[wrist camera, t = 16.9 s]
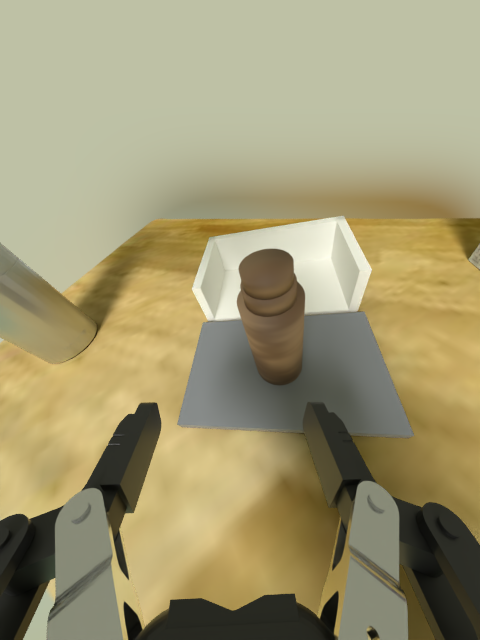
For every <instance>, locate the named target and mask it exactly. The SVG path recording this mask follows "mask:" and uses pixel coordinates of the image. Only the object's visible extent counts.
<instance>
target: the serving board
mask: <svg viewBox="0 0 480 640" xmlns="http://www.w3.org/2000/svg"><path fill="white" fill-rule="evenodd" d="M308 402H323V403H324V404H325V406H326V408H327V410H328V412H334V413H335V414H336V415H337V416H338V417H339V418H340V419H341V420H342V421H343V423H344V425H345V427H346V429H347V430H348V434H350V435H351V436H371V437H391V438H410V437H412V436H414V434H413V431H412V429H411V426H410V424H409V421H408V419H407V416H406V414H405V412H404V409H403V407H402V404H401V402H400V399H399V397H398V394H397V392H396V389H395V387H394V384H393V382H392V379H391V377H390V374H389V372H388V369H387V367H386V364H385V362H384V359H383V357H382V354H381V352H380V349H379V347H378V344H377V342H376V339H375V337H374V334H373V332H372V330H371V327H370V325H369V322H368V320H367V317H366V315H365V312H352V313H337V314H322V315H308V316H304V334H303V355H302V369H301V373H300V375H299V376H298V377H297V379H296V380H294V381H293V382H291V383H289V384H286V385H273V384H270V383H268V382H266V381H265V380H264V379H263V378H262V377H261V376H260V374H259V372H258V370H257V367H256V363H255V360H254V357H253V354H252V351H251V348H250V345H249V342H248V339H247V335H246V332H245V329H244V326H243V323H242V320H234V321H219V322H204V323H203V325H202V329H201V333H200V337H199V341H198V345H197V349H196V352H195V356H194V360H193V364H192V368H191V372H190V376H189V380H188V384H187V388H186V392H185V396H184V400H183V404H182V408H181V412H180V416H179V420H178V424H177V425H179V426H181V427H190V428H210V429H230V430H250V431H270V432H291V433H304V430H303V417H304V413H305V409H306V405H307V403H308Z"/></svg>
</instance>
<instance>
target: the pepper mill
mask: <svg viewBox="0 0 480 640" xmlns="http://www.w3.org/2000/svg"><path fill="white" fill-rule="evenodd" d="M239 274H240V278H241V284H240V289H241V291H240V292H239V294H238V297H237V307H238V310H239V314H240V317H241V320H242V323H243V326H244V329H245V332H246V335H247V339H248V342H249V345H250V348H251V351H252V354H253V357H254V360H255V363H256V367H257V370H258V372H259V374H260V376H261V377H262V378H263V379H264V380H265V381H266V382H268V383H270V384H273V385H286V384H289V383H291V382H293V381H294V380H296V379H297V377H298V376H299V375H300V373H301V369H302V355H303V334H304V314H305V291H304V289H303V287H302V286H301V285H300V284H299V283H298V282H297V277H296V275H295V273H294V260H293V257H292V256H291V255H290V254H289V253H288V252H286V251H284V250H280V249H263V250H259V251H256V252H253V253H251V254H249V255H248V256H246V257H245V258H244V259H243V260H242V261H241V263H240V265H239Z"/></svg>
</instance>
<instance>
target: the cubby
mask: <svg viewBox="0 0 480 640" xmlns="http://www.w3.org/2000/svg"><path fill="white" fill-rule="evenodd" d="M263 249H280V250H284V251H286V252H288V253H289V254H290V255H291V256H292V257H293V260H294V273H295V275H296V277H297V282H298V283H299V284H300V285H301V286H302V287H303V289H304V291H305V314H304V315H319V314H334V313H348V312H357V311H358V309H359V306H360V303H361V300H362V297H363V294H364V291H365V288H366V285H367V282H368V280H369V277H370V274H371V271H372V269H371V267H370V265H369V263H368V262H367V260H366V258H365V256H364V254H363V252H362V250H361V248H360V246H359V244H358V243H357V241H356V239H355V237H354V235H353V233H352V231H351V229H350V227H349V225H348V223H347V222H346V220H345V218H344V216H339V217H333V218H326V219H320V220H314V221H308V222H301V223H295V224H289V225H283V226H277V227H271V228H264V229H258V230H252V231H246V232H240V233H233V234H227V235H221V236H215V237H210V238H209V240H208V243H207V246H206V249H205V252H204V255H203V258H202V261H201V264H200V267H199V270H198V272H197V275H196V278H195V281H194V284H193V287H192V290H193V292H194V294H195V296H196V298H197V300H198V302H199V304H200V306H201V308H202V310H203V312H204V314H205V316H206V318H207V320H208V321H209V322H216V321H231V320H241V317H240V314H239V310H238V307H237V297H238V294H239V292H240V291H241V289H240V284H241V278H240V274H239V265H240V263H241V261H242V260H243V259H244V258H245V257H246V256H248V255H249V254H251V253H253V252H256V251H259V250H263Z"/></svg>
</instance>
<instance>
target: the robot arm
mask: <svg viewBox="0 0 480 640" xmlns="http://www.w3.org/2000/svg"><path fill="white" fill-rule="evenodd" d="M96 331H97V325H96V323H95V322H94V321H93V320H91V319H90V318H89V317H88V316H87V315H86V314H84V313H83V312H82V311H81V310H80V309H79V308H77V307H76V306H75V305H74V304H73V303H72V302H70V301H69V300H68V299H67V298H66V297H64V296H63V295H62V294H61V293H60V292H58V291H57V290H56V289H55V288H54V287H52V286H51V285H50V284H49V283H48V282H47V281H45V280H44V279H43V278H42V277H41V276H39V275H38V274H37V273H36V272H35V271H33V270H32V269H31V268H30V267H29V266H27V265H26V264H25V263H24V262H23V261H21V260H20V259H19V258H18V257H16V256H15V255H14V254H13V253H12V252H11V251H9V250H8V249H7V248H6V247H5V246H3V245H2V244H1V243H0V338H2V339H4V340H6V341H8V342H10V343H12V344H14V345H16V346H18V347H20V348H21V349H23V350H25V351H27V352H29V353H31V354H33V355H35V356H37V357H39V358H41V359H43V360H44V361H46V362H48V363H52V364H56V363H61V362H64V361H67V360H69V359H71V358H73V357H74V356H76V355H77V354H79V353H80V352H81V351H82V350H84V349H85V348H86V347H87V346H88V345H89V343H90V342H91V341H92V339H93V338H94V336H95V334H96ZM303 430H304V434H305V437H306V440H307V443H308V446H309V449H310V452H311V455H312V458H313V461H314V464H315V467H316V470H317V473H318V476H319V479H320V482H321V485H322V488H323V491H324V494H325V498H326V501H327V504H328V507H329V508H338V511H339V514H340V519H339V524H338V529H337V534H336V539H335V544H334V549H333V553H332V558H331V563H330V568H329V572H328V576H327V579H326V581H325V584H324V588H323V592H322V596H321V600H320V605H319V610H318V615H315V614H314V613H313V612H312V611H311V610H309V609H308V608H306V607H305V606H303V605H301V604H299V603H297V602H296V598H295V594H278V595H264V596H262V597H260V598H258V599H257V600H255V601H253V602H251V603H249V604H247V605H245V606H243V607H241V608H239V609H237V610H234V611H232V610H229V609H226V608H224V607H222V606H219V605H217V604H214V603H212V602H209V601H207V600H205V599H202V598H198V599H178V600H170V606H169V609H167V610H166V611H164V612H162V613H161V614H159V615H158V616H157V617H155V618H154V619H153V620H152V621H151V622H150V623H149V624H148V625H147V626H146V627H145V625H144V621H143V617H142V612H141V608H140V603H139V600H138V596H137V593H136V590H135V587H134V584H133V581H132V577H131V573H130V568H129V563H128V559H127V554H126V550H125V545H124V540H123V536H122V531H121V527H120V526H121V523H122V520H123V517H124V515H125V513H134V510H135V507H136V504H137V501H138V498H139V495H140V492H141V489H142V486H143V483H144V480H145V477H146V474H147V471H148V468H149V465H150V462H151V459H152V456H153V453H154V450H155V447H156V444H157V441H158V438H159V435H160V431H161V418H160V414H159V410H158V405H157V403H140V404H139V406H138V408H137V410H136V412H135V414H128V415H127V416H126V417H125V418H124V419H123V420H122V421H121V422H120V423H119V425H118V427H117V428H116V430H115V432H114V434H113V437H112V438H111V440H110V441H109V443H108V446H107V447H106V449H105V451H104V452H103V454H102V456H101V458H100V460H99V462H98V464H97V465H96V467H95V469H94V471H93V473H92V475H91V477H90V478H89V480H88V482H87V484H86V485H85V487H84V488H83V489H82V491H81V492H79V493H77V494H76V495H75V496H73V497H72V498H71V499H70V500H69V501H68V502H67V503H66V504H65V505H64V506H62V507H60V508H58V509H55V510H52V511H50V512H47V513H44V514H42V515H39V516H37V517H34V518H31V519H28V518H27V517H26V516H25V515H23V514H15V515H12V516H9V517H7V518H5V519H3V520H1V521H0V640H23V638H24V636H25V633H26V631H27V629H28V627H29V625H30V623H31V620H32V618H33V616H34V614H35V612H36V610H37V607H38V605H39V603H40V601H41V599H42V596H43V594H44V592H45V590H46V588H47V586H48V583H49V581H50V580H51V579H53V578H56V598H55V604H54V606H53V608H52V609H51V610H50V613H49V617H48V623H47V640H408V611H407V601H406V596H405V593H404V592H403V590H402V589H401V587H400V583H399V564H401V565H403V568H404V570H405V572H406V574H407V576H408V579H409V581H410V583H411V585H412V588H413V590H414V592H415V594H416V597H417V599H418V601H419V603H420V606H421V608H422V610H423V612H424V615H425V617H426V619H427V621H428V623H429V626H430V628H431V630H432V632H433V635H434V637H435V639H436V640H480V545H479V543H478V542H477V540H476V539H475V538H474V536H473V535H472V533H471V532H470V531H469V529H468V528H467V526H466V525H465V524H464V523H463V522H462V520H461V519H460V518H459V517H458V516H457V515H455V514H454V513H453V512H452V511H450V510H449V509H448V508H446V507H444V506H442V505H440V504H437V503H433V502H429V503H426V504H425V505H424V506H423V507H419V506H416V505H413V504H410V503H408V502H405V501H402V500H399V499H396V498H394V497H392V496H391V495H390V494H389V493H388V492H387V491H386V490H385V489H384V488H383V487H381V486H380V485H378V484H377V483H376V482H375V480H374V479H373V477H372V475H371V473H370V472H369V470H368V468H367V466H366V464H365V462H364V460H363V458H362V457H361V455H360V453H359V451H358V449H357V447H356V445H355V444H354V443H353V440H352V438H351V436H350V434H348V430H347V429H346V427H345V425H344V423H343V421H342V420H341V419H340V418H339V417H338V416H337V415H336V414H335V413H334V412H328V410H327V408H326V406H325V404H324V403H323V402H308V403H307V405H306V409H305V413H304V417H303Z"/></svg>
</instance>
